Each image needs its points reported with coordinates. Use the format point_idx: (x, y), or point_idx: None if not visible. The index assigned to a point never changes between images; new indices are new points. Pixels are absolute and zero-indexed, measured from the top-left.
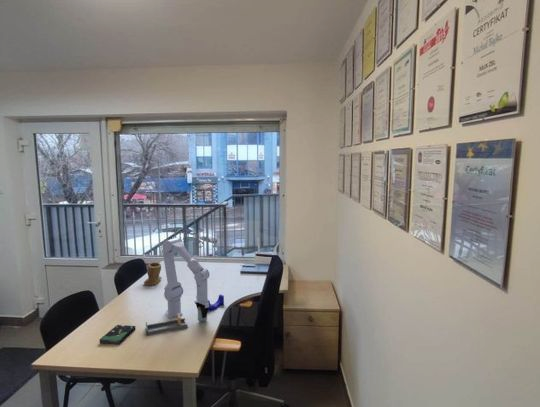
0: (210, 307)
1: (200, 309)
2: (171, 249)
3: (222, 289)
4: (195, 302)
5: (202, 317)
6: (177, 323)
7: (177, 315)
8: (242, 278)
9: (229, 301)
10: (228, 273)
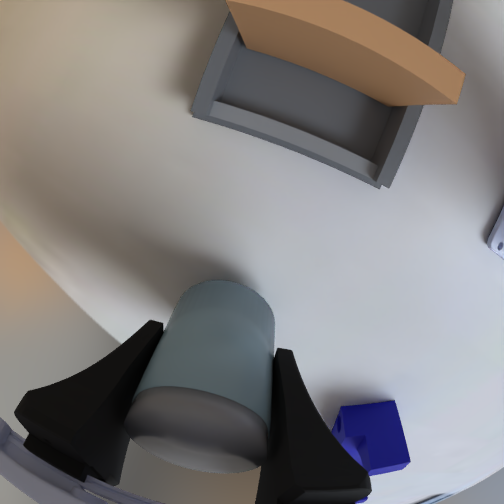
0: (341, 436)
1: (140, 403)
2: None
3: (436, 470)
4: (320, 493)
5: (151, 324)
6: None
7: (419, 52)
8: (415, 498)
9: None
10: (469, 478)
